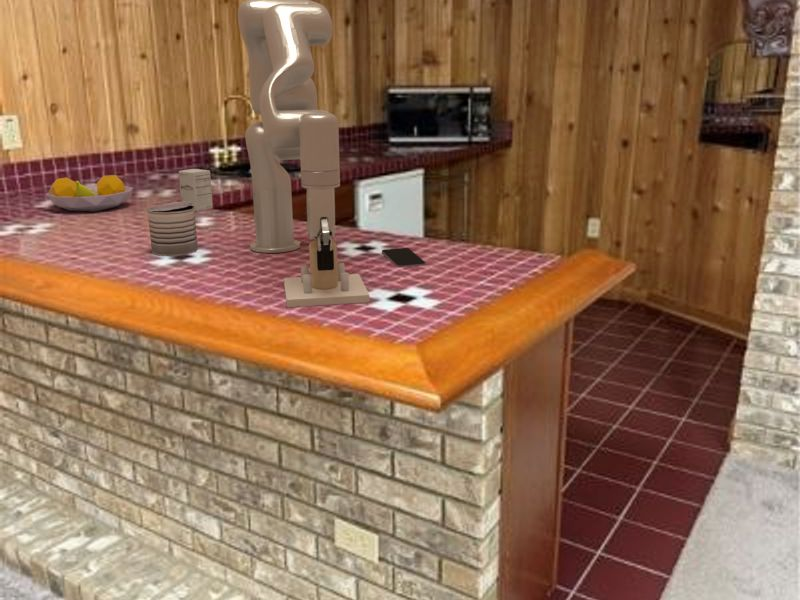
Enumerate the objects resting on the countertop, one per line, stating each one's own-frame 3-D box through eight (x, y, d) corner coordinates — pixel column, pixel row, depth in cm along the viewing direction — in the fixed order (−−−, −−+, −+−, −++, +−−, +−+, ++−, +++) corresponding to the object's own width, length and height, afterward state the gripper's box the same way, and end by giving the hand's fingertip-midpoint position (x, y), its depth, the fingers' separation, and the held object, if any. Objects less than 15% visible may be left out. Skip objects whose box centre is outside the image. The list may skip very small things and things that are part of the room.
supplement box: (181, 209, 244) (177, 170, 241) (198, 206, 250) (195, 168, 246) (196, 211, 240) (192, 172, 237) (213, 208, 246) (210, 169, 242)
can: (185, 257, 181) (180, 208, 178) (142, 255, 183) (137, 207, 180) (206, 246, 192) (202, 200, 188) (165, 245, 194) (161, 199, 191)
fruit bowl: (76, 201, 262) (71, 168, 258) (148, 202, 258) (145, 169, 255) (27, 215, 235) (21, 180, 232) (107, 217, 232) (103, 181, 228)
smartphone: (397, 266, 171) (380, 249, 184) (397, 270, 171) (380, 254, 185) (427, 263, 173) (408, 247, 186) (427, 268, 173) (408, 251, 186)
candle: (326, 280, 155) (324, 233, 152) (343, 285, 151) (342, 237, 148) (305, 285, 151) (303, 237, 148) (322, 291, 147) (320, 241, 144)
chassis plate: (284, 284, 157) (282, 261, 156) (358, 280, 160) (358, 258, 159) (287, 307, 142) (285, 282, 141) (369, 302, 145) (369, 277, 144)
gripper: (298, 173, 152) (302, 254, 157) (303, 186, 136) (307, 276, 141) (335, 172, 153) (337, 252, 158) (344, 184, 137) (347, 274, 142)
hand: (323, 263), depth 150 cm, fingers open, 9 cm apart
